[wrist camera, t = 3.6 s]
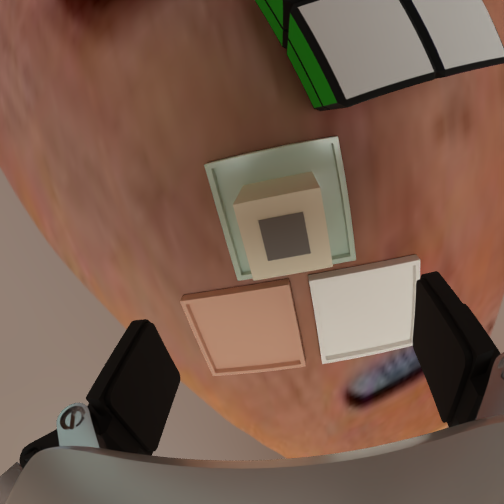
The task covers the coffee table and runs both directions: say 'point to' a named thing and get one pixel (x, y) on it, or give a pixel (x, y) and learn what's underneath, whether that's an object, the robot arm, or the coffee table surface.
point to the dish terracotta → (246, 328)
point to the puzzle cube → (380, 44)
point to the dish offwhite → (365, 308)
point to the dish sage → (276, 166)
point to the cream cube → (283, 226)
